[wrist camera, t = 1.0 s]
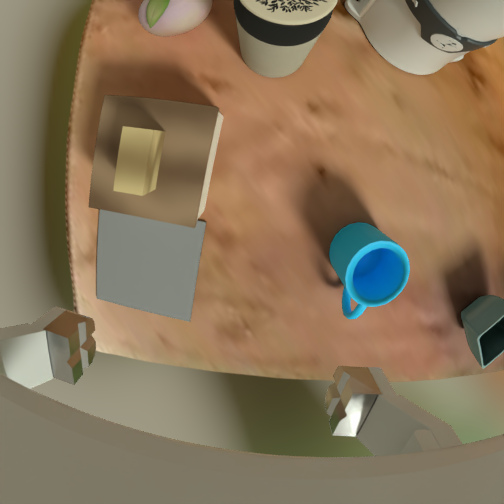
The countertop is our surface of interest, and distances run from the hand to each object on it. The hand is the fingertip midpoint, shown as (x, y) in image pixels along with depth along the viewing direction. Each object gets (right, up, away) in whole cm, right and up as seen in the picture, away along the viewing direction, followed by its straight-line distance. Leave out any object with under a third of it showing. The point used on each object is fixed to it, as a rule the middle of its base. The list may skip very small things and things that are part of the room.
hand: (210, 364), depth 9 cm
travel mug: (+4, +28, +23) cm, 37 cm away
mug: (+15, +2, +32) cm, 36 cm away
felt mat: (-13, +2, +32) cm, 35 cm away
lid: (-9, +13, +21) cm, 26 cm away
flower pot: (+41, -7, +35) cm, 55 cm away
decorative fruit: (-7, +34, +21) cm, 40 cm away
